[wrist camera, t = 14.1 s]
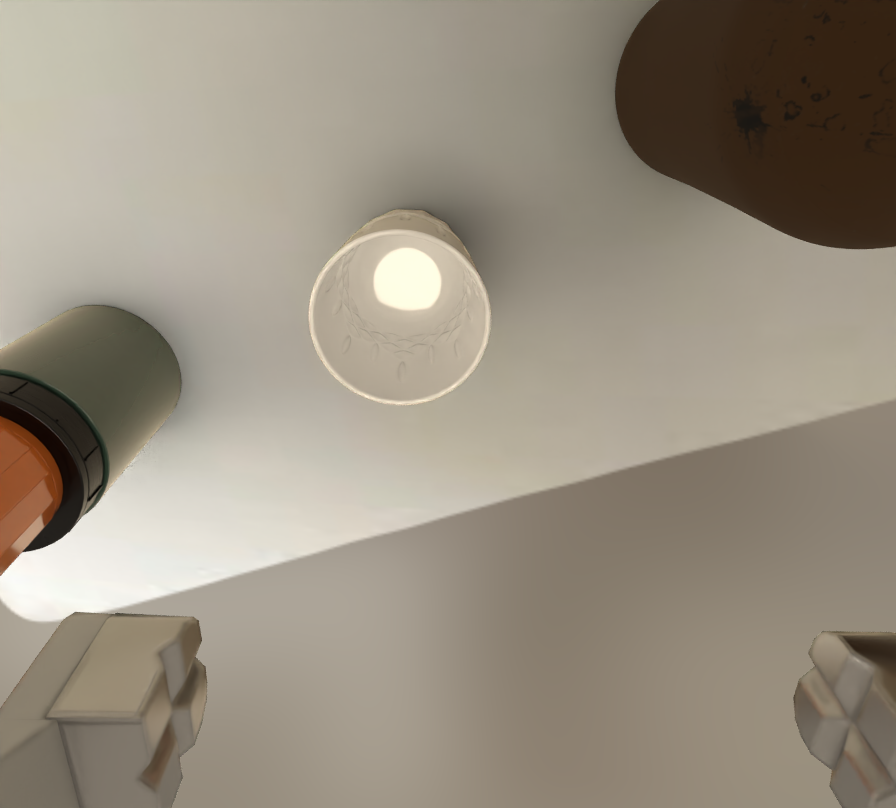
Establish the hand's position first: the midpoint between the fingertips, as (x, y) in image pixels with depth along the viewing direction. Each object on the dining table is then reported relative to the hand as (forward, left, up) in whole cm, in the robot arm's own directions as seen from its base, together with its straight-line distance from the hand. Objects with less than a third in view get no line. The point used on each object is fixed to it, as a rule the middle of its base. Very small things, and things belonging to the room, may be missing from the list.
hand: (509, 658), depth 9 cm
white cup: (+1, -3, -31) cm, 31 cm away
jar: (0, -22, -31) cm, 38 cm away
